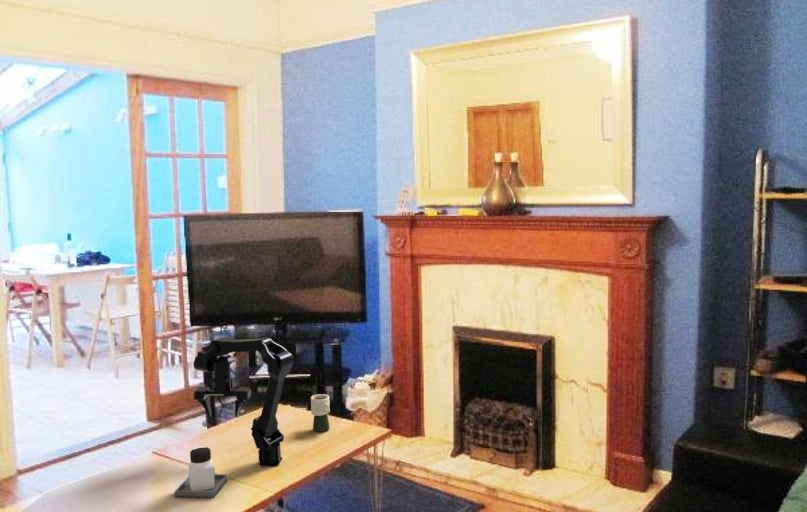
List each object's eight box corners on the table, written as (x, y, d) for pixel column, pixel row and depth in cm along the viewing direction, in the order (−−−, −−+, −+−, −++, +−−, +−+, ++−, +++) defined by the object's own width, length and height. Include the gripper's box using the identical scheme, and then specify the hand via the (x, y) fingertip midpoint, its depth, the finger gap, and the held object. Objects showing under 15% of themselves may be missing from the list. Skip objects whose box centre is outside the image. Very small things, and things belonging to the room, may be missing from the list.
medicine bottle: (215, 488, 202) (213, 451, 201) (191, 493, 200) (188, 455, 198) (213, 479, 209) (210, 443, 208) (189, 483, 206) (187, 446, 205)
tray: (227, 480, 210) (227, 474, 209) (213, 498, 198) (213, 492, 198) (191, 480, 211) (190, 474, 210) (175, 497, 199) (174, 491, 199)
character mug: (337, 431, 250) (336, 397, 248) (322, 436, 245) (320, 402, 244) (320, 423, 258) (319, 391, 256) (305, 428, 253) (304, 396, 252)
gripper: (254, 367, 236) (255, 409, 238) (202, 366, 236) (203, 408, 238) (246, 376, 225) (247, 420, 227) (192, 376, 225) (193, 420, 227)
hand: (223, 417), depth 230 cm, fingers open, 9 cm apart
